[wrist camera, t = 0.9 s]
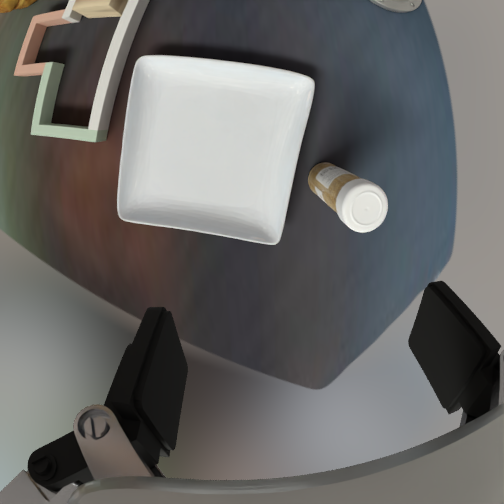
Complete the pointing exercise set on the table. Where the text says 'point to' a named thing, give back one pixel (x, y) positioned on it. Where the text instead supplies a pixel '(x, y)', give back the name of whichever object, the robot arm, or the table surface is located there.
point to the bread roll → (14, 4)
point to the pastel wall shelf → (54, 70)
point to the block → (100, 8)
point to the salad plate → (212, 146)
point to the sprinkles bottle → (349, 196)
